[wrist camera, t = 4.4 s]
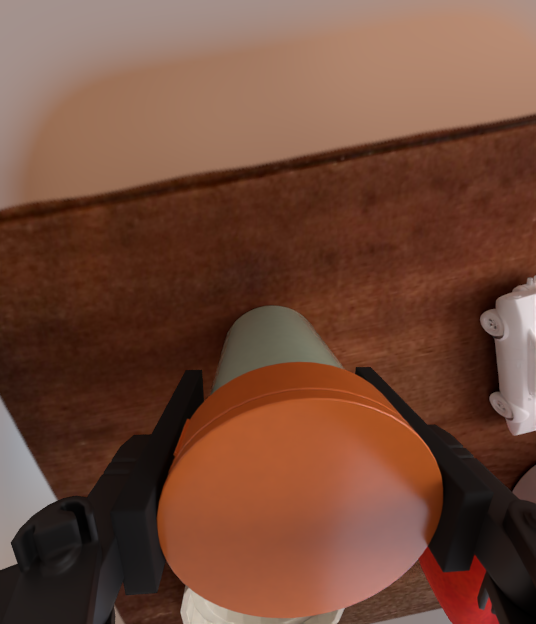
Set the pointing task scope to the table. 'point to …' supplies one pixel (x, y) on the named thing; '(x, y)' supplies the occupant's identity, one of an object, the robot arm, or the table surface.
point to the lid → (297, 493)
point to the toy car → (515, 356)
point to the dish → (239, 614)
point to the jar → (269, 343)
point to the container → (527, 486)
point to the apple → (458, 591)
